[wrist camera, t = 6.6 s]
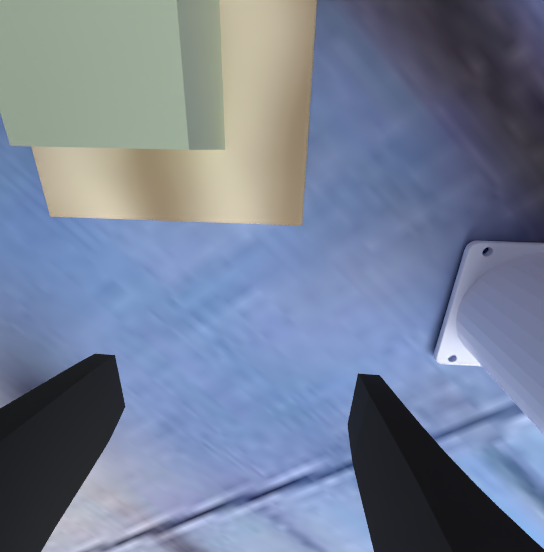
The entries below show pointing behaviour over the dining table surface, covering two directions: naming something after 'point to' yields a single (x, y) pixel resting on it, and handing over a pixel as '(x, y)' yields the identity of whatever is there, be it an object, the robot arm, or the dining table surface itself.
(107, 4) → the cube
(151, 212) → the base
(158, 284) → the dining table surface
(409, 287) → the dining table surface
